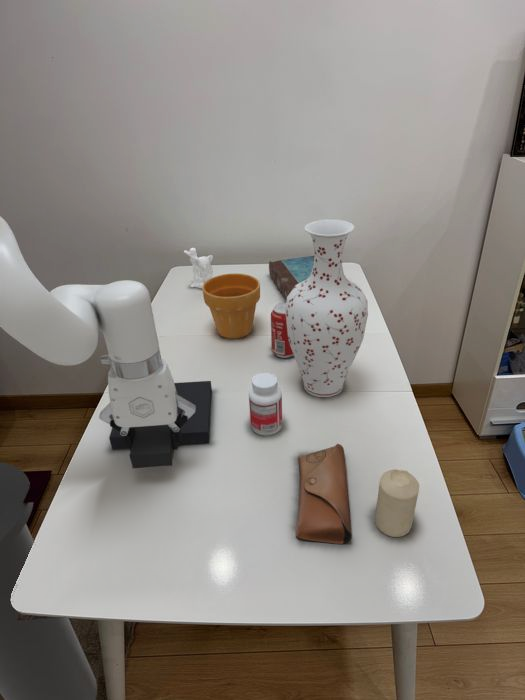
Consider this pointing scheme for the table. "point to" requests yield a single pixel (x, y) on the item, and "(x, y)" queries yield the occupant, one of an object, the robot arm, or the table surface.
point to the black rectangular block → (151, 447)
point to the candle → (396, 502)
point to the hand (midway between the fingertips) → (155, 445)
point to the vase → (326, 313)
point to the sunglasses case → (324, 497)
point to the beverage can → (280, 332)
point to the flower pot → (232, 303)
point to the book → (290, 272)
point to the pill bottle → (265, 404)
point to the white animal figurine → (200, 268)
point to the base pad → (195, 426)
